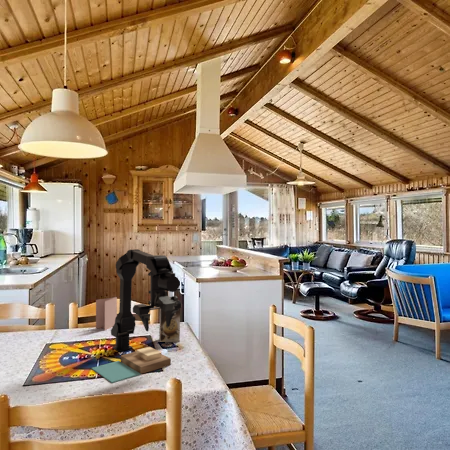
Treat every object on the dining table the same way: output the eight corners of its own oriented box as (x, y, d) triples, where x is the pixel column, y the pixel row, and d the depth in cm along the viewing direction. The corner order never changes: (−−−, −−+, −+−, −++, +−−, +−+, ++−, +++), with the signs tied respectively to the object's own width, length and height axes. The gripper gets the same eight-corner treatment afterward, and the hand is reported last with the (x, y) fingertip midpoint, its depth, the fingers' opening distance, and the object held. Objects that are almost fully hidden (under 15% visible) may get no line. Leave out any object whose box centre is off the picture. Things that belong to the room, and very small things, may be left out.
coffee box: (160, 343, 172) (160, 308, 172) (159, 339, 178) (159, 305, 178) (180, 341, 174) (180, 307, 174) (178, 337, 180) (178, 304, 180)
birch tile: (136, 354, 149) (136, 349, 149) (149, 351, 153) (149, 346, 153) (148, 361, 143) (148, 355, 143) (161, 357, 147) (161, 352, 147)
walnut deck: (120, 361, 149) (120, 355, 149) (149, 354, 157) (149, 348, 157) (141, 373, 137) (141, 367, 137) (170, 365, 146) (170, 358, 145)
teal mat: (91, 368, 141) (91, 367, 141) (118, 361, 149) (118, 360, 149) (112, 383, 129) (112, 382, 129) (140, 374, 136) (140, 373, 136)
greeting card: (116, 324, 203) (116, 296, 203) (121, 327, 198) (122, 298, 198) (95, 328, 196) (95, 299, 196) (100, 331, 190) (100, 301, 190)
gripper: (147, 294, 131) (147, 338, 131) (190, 288, 144) (189, 328, 144) (132, 290, 140) (131, 331, 140) (173, 284, 152) (173, 323, 152)
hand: (157, 328), depth 144 cm, fingers open, 9 cm apart
